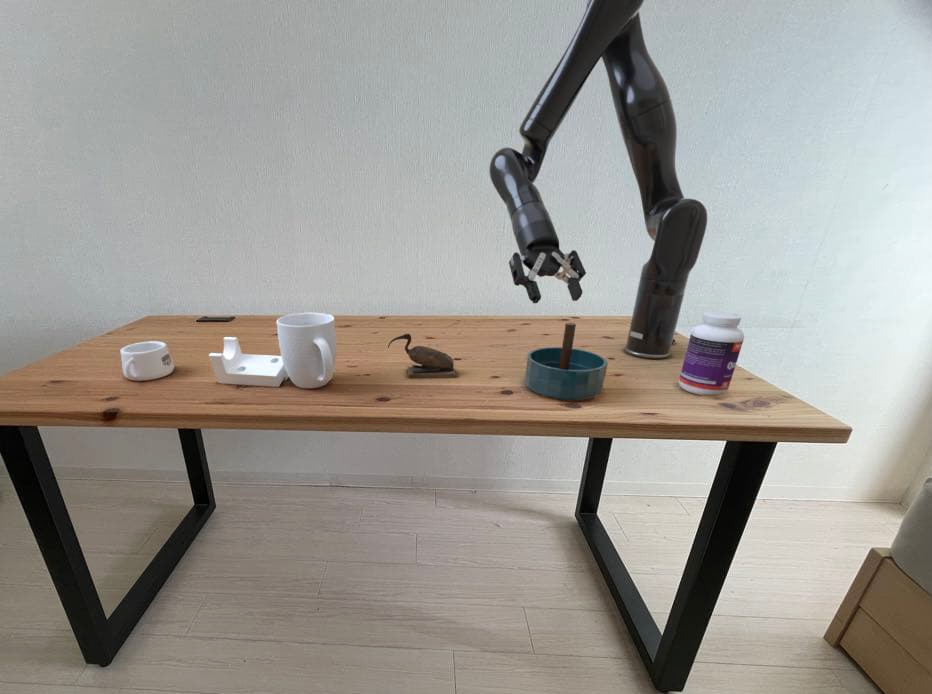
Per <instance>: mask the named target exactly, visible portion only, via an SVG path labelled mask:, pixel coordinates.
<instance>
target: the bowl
mask: <svg viewBox="0 0 932 694" xmlns="http://www.w3.org/2000/svg"><path fill="white" fill-rule="evenodd" d="M561 351H562V346H560V347H559V346H550V347H540V348H536V349H532V350H530V351H529V352H528V353H527V355H526V361H525V371H524V385H525V387H527V388H528V389H529V390H531V391H533V392H534V393H537V394H538V395H540V396H543V397H545V398H550V399H554V400H555V399H556V400H560V401H561V400H562V401H582V400H588V399H591V398H592V399H593V398H596V397H598V396H599V395H601V394H602V392H603V390H604V384H605V379H606V375H607V369H608V364H609V363H608V360H607V359H606V358H605V357H604V356H602V355H601V354H598V353H595V352H593V351H590V350H586V349H585V350H584V349H579V348H573V347H572V353H571V360H570V366H569V370H565V369H559V365H560V358H561Z"/></svg>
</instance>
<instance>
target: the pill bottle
mask: <svg viewBox="0 0 932 694" xmlns="http://www.w3.org/2000/svg"><path fill="white" fill-rule="evenodd" d="M741 319H742V316H741V315H740V314H737V313H732V312H726V311H715V310H714V311H705V312H704V313H703V316H702V323H701V324H698V325H695V326H693V328H692V330H691V332H690V335H689V339H688V343H687V347H686V351H685V355H684V358H683V363H682V365H681V370H680V374H679V378H678V380H677V381H678V385H679V387H680V388H681V389H682V390H684V391H686V392H688V393H691V394H695V395H699V396H705V397H719V396H723V395H724V394H727V392H728V391H729V388H730V387H731V386H730V385H731V382H732V378H733V375H734V372H735V369H736V365H737V363H738V359H739V356H740V353H741V350H742V346H743V343H744V339H745V333H744V332H743V331H742V330H741V329H740V328H739V327H738V326H739V325H740V323H741Z"/></svg>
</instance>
